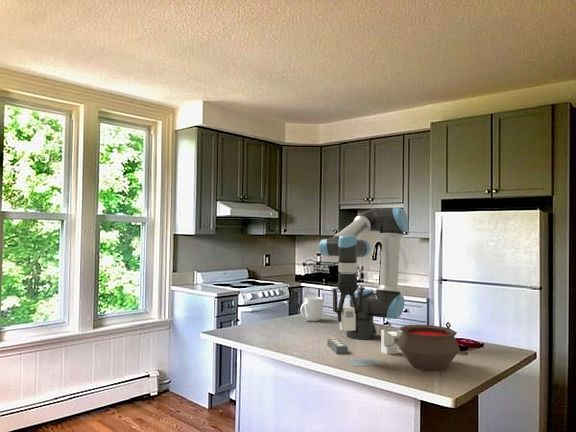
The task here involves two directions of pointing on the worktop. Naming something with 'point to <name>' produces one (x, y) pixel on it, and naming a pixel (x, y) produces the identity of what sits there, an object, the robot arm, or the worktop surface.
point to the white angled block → (387, 343)
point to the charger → (348, 318)
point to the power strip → (337, 346)
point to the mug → (312, 308)
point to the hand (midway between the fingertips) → (347, 329)
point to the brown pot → (428, 346)
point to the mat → (364, 362)
